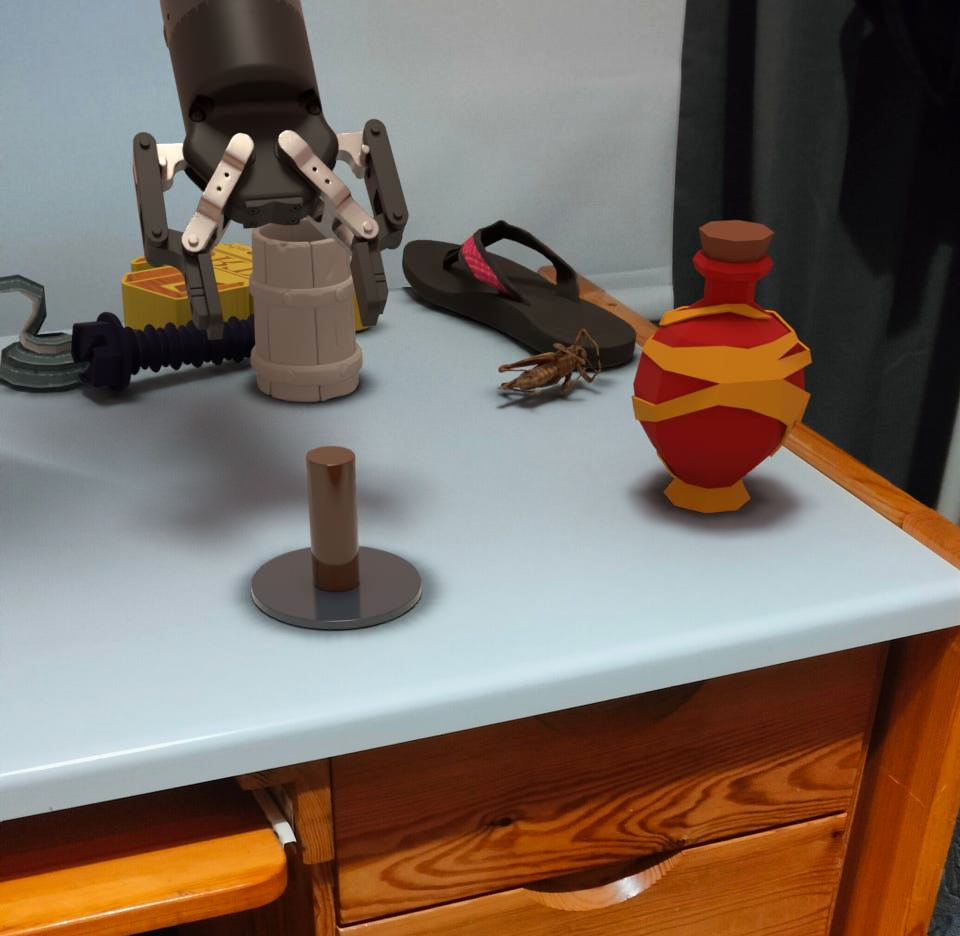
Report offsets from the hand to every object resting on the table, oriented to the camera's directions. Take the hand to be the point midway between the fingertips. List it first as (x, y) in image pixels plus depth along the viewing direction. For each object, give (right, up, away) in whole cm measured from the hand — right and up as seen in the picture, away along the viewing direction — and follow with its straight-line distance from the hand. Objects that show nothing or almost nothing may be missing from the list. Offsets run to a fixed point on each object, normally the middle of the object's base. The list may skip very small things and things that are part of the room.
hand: (295, 325), depth 88 cm
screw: (-9, +8, +26) cm, 29 cm away
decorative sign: (-5, +22, +39) cm, 45 cm away
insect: (+16, +7, +22) cm, 28 cm away
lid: (+2, -14, +2) cm, 14 cm away
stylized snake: (-19, +9, +27) cm, 34 cm away
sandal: (+13, +17, +37) cm, 42 cm away
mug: (-2, +9, +27) cm, 29 cm away
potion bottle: (+24, -5, +13) cm, 28 cm away
